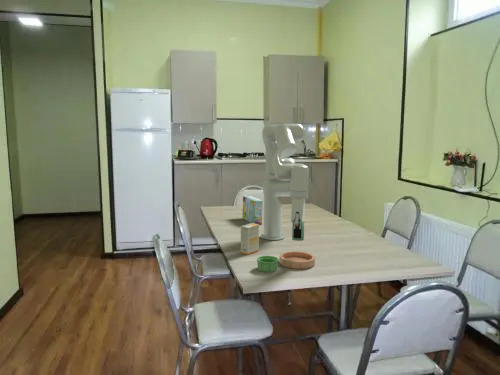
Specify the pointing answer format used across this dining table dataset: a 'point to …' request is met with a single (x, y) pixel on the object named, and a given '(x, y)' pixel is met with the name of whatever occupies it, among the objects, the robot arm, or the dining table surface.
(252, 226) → the supplement box
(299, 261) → the round dish
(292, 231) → the teal tapered rounded piece
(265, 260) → the ramekin
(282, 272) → the dining table surface
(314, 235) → the dining table surface
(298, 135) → the robot arm
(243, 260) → the dining table surface
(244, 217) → the snack box
